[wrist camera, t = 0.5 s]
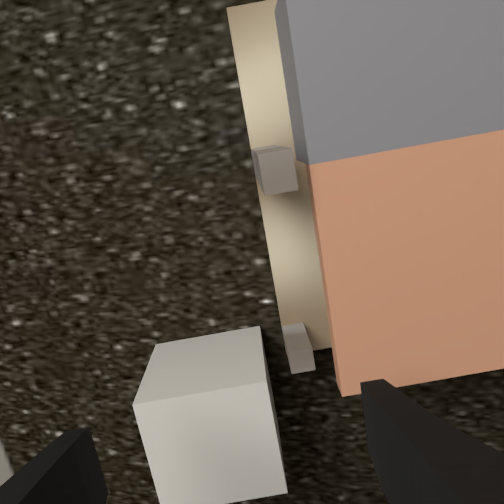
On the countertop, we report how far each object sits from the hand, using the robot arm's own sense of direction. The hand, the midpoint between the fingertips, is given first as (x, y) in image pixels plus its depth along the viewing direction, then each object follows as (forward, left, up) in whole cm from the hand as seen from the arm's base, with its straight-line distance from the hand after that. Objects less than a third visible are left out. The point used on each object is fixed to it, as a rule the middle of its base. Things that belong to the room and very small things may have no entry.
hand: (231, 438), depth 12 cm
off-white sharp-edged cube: (-4, +2, -10) cm, 10 cm away
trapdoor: (+5, -9, -7) cm, 13 cm away
